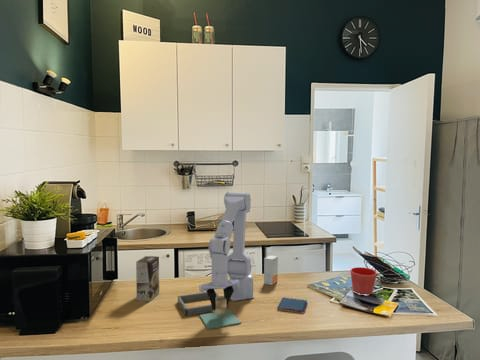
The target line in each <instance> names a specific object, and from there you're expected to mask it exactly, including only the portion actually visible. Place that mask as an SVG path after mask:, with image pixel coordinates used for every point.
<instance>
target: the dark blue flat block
mask: <svg viewBox="0 0 480 360" xmlns="http://www.w3.org/2000/svg"><path fill="white" fill-rule="evenodd" d="M307 305H308V299H299V298H292V297H282V298H281V300H280V302H279V303H278V306H276V309H277V311H281V312H282V311H283V312H285V311H286V312H290V313H291V312H292V313H295V314H303V313H305V311H306V307H307Z"/></svg>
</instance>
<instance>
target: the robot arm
mask: <svg viewBox="0 0 480 360" xmlns="http://www.w3.org/2000/svg"><path fill="white" fill-rule="evenodd" d="M251 202H252V199H251V194H250V193H249V192H238V191H237V192H236V191H235V192H234V191H233V192H232V191H226V192H225V194H224V197H223V204H224V208H225V211H224V215H223V219H222V221H220V222H219V223H218V224H217V228H216V232H215V233H214V236H213V238H211V239H209V243H208V252H209V259H211V281H210V282H206V283H204V284H199V285H198V288H199V293H202V292H207V294H208V296H209V298H208V299H209V300H210V305H212V309H213V310H215V308H216V305H215V299H216V293H217V292H216V290H218V289H220V290H223V296H224V298H225V299H226V300H227V309H228V308H229V304H230V300H231V301H233V302H235V301H242V300H249V299H254V298H255V296H254V277H253V276H252V275H251V271H252V259H251V256H250V255H249V254H247V253H246V252H245V245H246V243H245V242H246V218H247V217H246V216H247V214H248V213H250V212H251V206H252V205H251ZM232 234H233V240H232V241H233V242H232V252H231V253H230V249H231V237H232ZM229 253H230V254H229ZM228 277H229V279H228ZM215 292H216V293H215Z"/></svg>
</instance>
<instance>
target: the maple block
mask: <svg viewBox="0 0 480 360" xmlns="http://www.w3.org/2000/svg"><path fill="white" fill-rule="evenodd" d="M215 305H216V308H215V310H213V312H212V313H215V315H220V314H226V313H227V309H228V308H227V300H226V299H225V298H224V295H219V296H218V297H216V299H215Z"/></svg>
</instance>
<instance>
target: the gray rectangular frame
mask: <svg viewBox="0 0 480 360" xmlns="http://www.w3.org/2000/svg"><path fill="white" fill-rule="evenodd" d="M215 293H216V297H218V296H220V295H219V294H218V292H217V291H215ZM205 299H206V300H207V299H210V298H209V296H208V294H207V292H206V291H204V292H196V293H191V294H190V293H189V294H183V295H178V296H177V303H178V305H179V307H180V309H181V310H182V312H183V314H184V316H185V317H187V316H188V317H189V316H193V315H195V316H196V315H198V314H199V315H202V314H208V313H214V312H213V309H212V305H211V304H206V305H199V306H192V307H187V306H186V304H185V303H186V302H195V301H200V300H205Z"/></svg>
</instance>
